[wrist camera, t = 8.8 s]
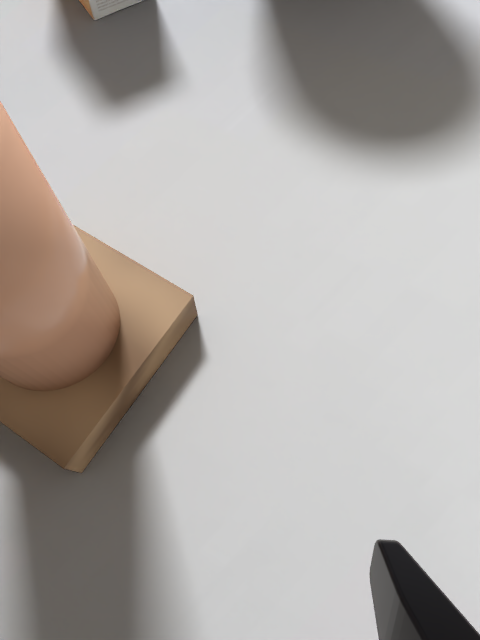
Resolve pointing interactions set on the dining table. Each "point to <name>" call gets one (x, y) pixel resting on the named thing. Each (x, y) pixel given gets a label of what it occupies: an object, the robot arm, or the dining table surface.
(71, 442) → the base board
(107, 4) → the small box
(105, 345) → the peach domed cylinder
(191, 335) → the dining table surface
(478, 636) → the robot arm
